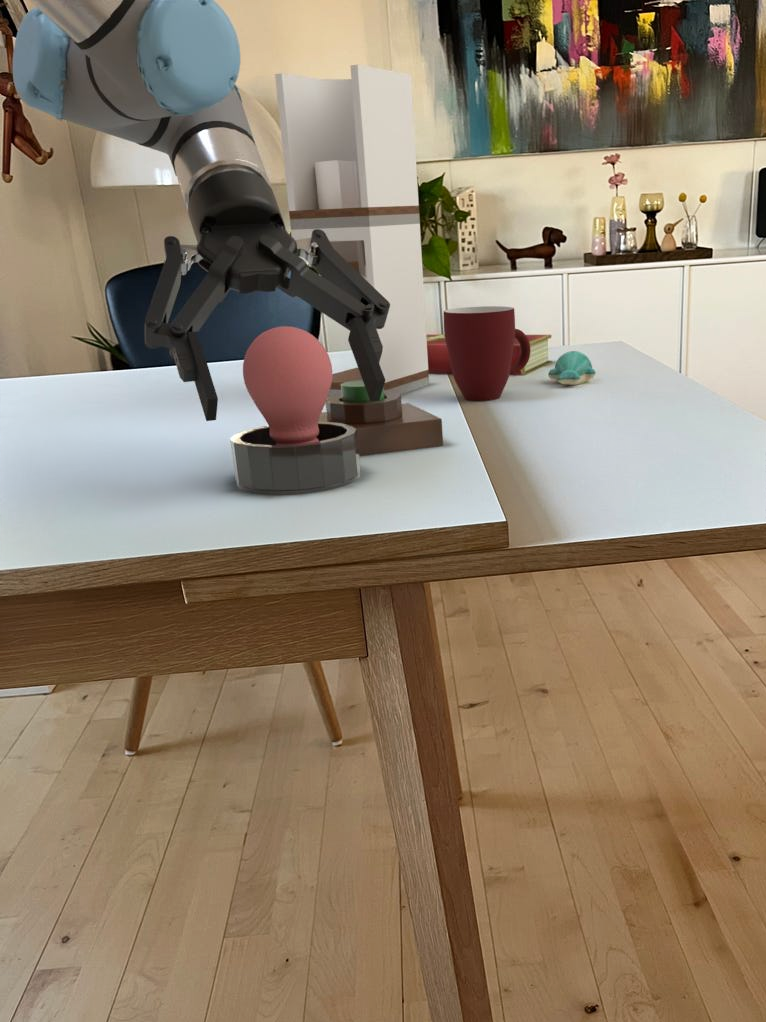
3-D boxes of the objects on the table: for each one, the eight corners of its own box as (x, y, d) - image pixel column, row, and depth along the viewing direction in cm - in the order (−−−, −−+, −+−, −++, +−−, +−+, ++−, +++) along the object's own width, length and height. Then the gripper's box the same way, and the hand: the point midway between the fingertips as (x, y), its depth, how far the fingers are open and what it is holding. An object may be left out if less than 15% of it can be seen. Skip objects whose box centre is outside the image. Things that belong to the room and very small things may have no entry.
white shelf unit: (358, 383, 137) (332, 82, 123) (429, 386, 132) (411, 74, 119) (308, 398, 127) (275, 74, 114) (382, 401, 123) (357, 64, 109)
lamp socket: (248, 503, 82) (242, 452, 80) (228, 476, 90) (222, 430, 89) (374, 486, 85) (370, 437, 83) (343, 462, 94) (338, 417, 92)
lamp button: (348, 407, 96) (346, 388, 95) (337, 401, 100) (336, 382, 99) (390, 403, 97) (388, 383, 97) (378, 396, 101) (376, 378, 100)
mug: (504, 388, 128) (501, 303, 124) (547, 395, 122) (546, 306, 118) (434, 400, 122) (429, 311, 118) (476, 408, 116) (472, 314, 112)
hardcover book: (523, 376, 136) (523, 343, 134) (379, 374, 143) (377, 342, 142) (551, 363, 146) (551, 332, 145) (415, 362, 154) (413, 332, 152)
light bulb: (256, 469, 90) (238, 325, 86) (339, 462, 91) (325, 319, 87) (255, 488, 84) (235, 333, 79) (344, 481, 85) (330, 328, 80)
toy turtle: (599, 379, 131) (599, 348, 130) (591, 389, 125) (591, 356, 123) (553, 380, 132) (552, 349, 131) (543, 389, 126) (542, 357, 124)
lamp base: (317, 462, 94) (312, 412, 92) (294, 443, 102) (289, 396, 101) (443, 447, 98) (440, 398, 96) (410, 429, 106) (407, 384, 105)
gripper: (359, 227, 98) (431, 411, 91) (80, 241, 88) (136, 447, 81) (374, 161, 91) (452, 354, 84) (75, 169, 82) (135, 387, 75)
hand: (297, 400), depth 83 cm, fingers open, 13 cm apart
